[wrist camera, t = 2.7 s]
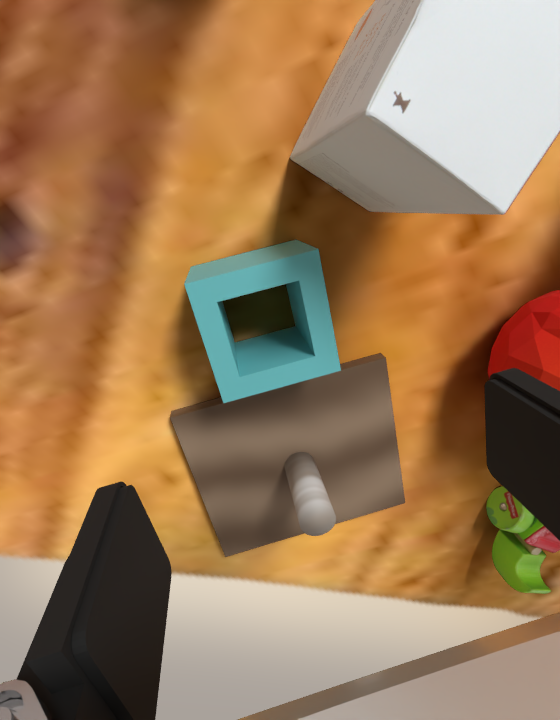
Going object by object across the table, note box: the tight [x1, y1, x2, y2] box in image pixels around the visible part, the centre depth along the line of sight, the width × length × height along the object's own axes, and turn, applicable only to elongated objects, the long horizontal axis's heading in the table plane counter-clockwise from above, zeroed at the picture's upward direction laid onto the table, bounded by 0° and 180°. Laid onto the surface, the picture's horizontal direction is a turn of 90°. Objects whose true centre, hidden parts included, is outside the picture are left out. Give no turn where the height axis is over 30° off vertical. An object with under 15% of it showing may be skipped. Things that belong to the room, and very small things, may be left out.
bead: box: [184, 240, 341, 403], centre depth 24 cm, size 7×7×6 cm
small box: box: [290, 0, 560, 214], centre depth 18 cm, size 8×6×13 cm
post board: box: [170, 353, 405, 557], centre depth 29 cm, size 14×16×7 cm
